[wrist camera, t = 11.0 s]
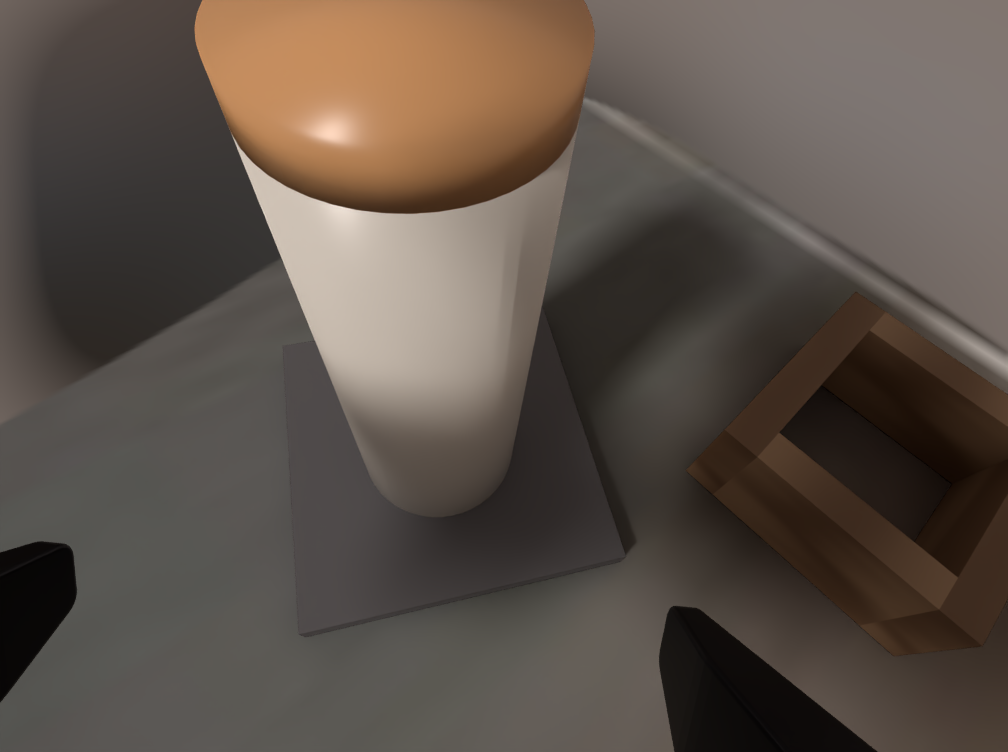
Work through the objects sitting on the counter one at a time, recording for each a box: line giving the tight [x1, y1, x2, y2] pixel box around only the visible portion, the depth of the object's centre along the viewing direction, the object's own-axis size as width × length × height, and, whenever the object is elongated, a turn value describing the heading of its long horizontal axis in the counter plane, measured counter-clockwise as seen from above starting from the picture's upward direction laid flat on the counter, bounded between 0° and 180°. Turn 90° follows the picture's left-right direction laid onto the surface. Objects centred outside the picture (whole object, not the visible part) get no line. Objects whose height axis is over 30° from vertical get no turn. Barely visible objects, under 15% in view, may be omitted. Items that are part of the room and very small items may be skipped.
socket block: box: [686, 292, 1008, 656], centre depth 19 cm, size 8×8×4 cm
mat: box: [283, 306, 626, 637], centre depth 20 cm, size 10×10×1 cm
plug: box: [195, 0, 594, 517], centre depth 13 cm, size 5×5×14 cm
